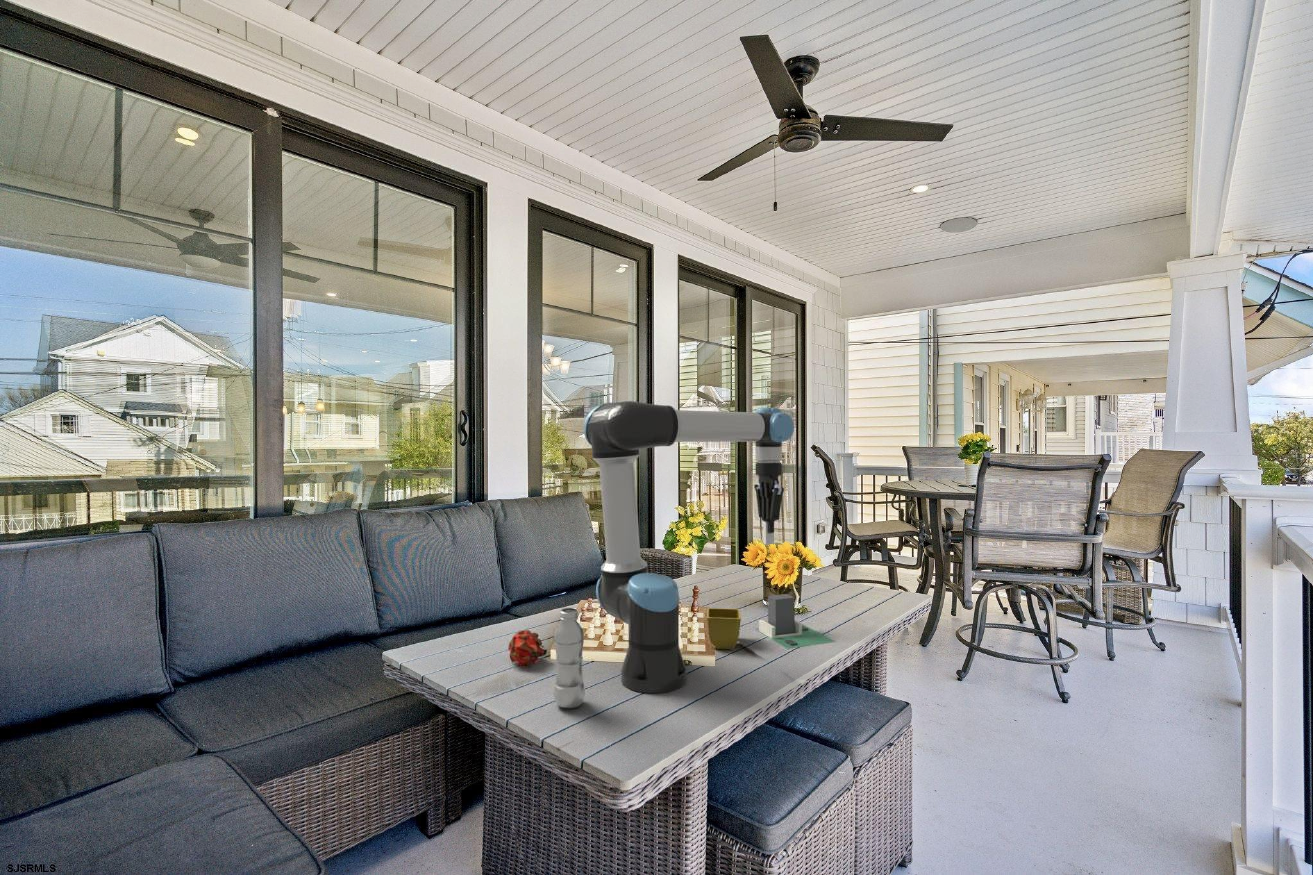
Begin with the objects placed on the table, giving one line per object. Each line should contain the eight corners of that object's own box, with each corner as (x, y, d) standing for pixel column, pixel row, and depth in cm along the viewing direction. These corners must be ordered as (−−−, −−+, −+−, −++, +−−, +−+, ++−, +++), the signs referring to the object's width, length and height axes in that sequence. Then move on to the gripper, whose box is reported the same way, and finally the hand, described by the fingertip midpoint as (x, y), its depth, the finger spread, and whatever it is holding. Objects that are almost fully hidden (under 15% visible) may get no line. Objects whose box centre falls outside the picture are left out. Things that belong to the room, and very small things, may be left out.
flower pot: (739, 641, 166) (739, 608, 166) (741, 652, 158) (741, 618, 158) (707, 640, 167) (707, 607, 167) (707, 651, 158) (706, 617, 158)
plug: (775, 636, 167) (775, 599, 167) (768, 631, 170) (768, 596, 170) (796, 633, 169) (796, 597, 169) (788, 628, 173) (788, 593, 173)
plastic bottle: (558, 714, 123) (558, 616, 123) (550, 701, 130) (550, 607, 129) (589, 708, 126) (588, 612, 126) (579, 696, 132) (579, 604, 132)
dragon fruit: (519, 660, 157) (537, 682, 148) (494, 647, 153) (510, 669, 143) (539, 631, 159) (557, 651, 149) (514, 617, 155) (532, 637, 145)
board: (787, 653, 157) (787, 636, 157) (754, 632, 173) (754, 618, 173) (836, 645, 162) (836, 630, 162) (799, 626, 178) (799, 612, 178)
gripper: (792, 462, 170) (792, 546, 170) (768, 460, 182) (768, 539, 182) (768, 462, 167) (768, 548, 167) (746, 461, 180) (746, 540, 180)
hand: (768, 543), depth 175 cm, fingers closed
